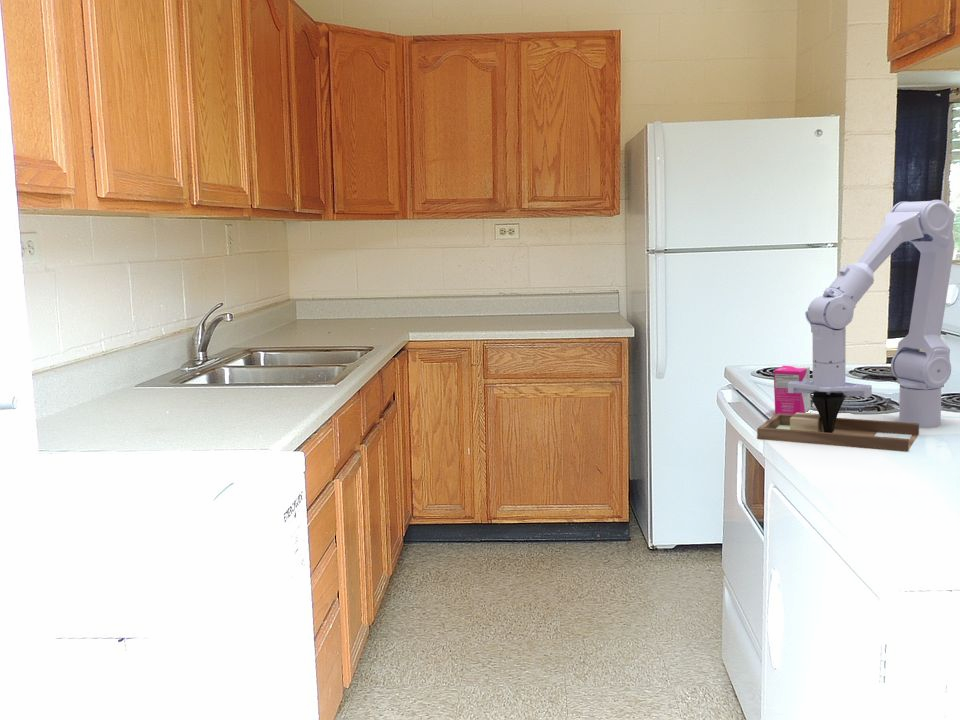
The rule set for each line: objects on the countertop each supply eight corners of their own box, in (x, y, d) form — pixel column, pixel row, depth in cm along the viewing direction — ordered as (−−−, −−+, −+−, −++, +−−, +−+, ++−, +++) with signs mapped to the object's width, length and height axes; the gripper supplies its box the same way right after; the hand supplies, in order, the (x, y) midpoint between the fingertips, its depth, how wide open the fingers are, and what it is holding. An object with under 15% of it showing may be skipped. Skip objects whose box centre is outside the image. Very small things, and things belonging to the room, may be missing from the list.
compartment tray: (776, 430, 179) (776, 413, 179) (918, 441, 165) (919, 423, 164) (757, 446, 169) (757, 428, 168) (907, 459, 154) (907, 440, 154)
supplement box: (783, 417, 190) (783, 364, 188) (811, 420, 186) (811, 366, 184) (773, 423, 186) (773, 369, 184) (802, 426, 182) (801, 371, 180)
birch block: (796, 430, 173) (796, 412, 172) (823, 432, 170) (823, 414, 170) (790, 436, 169) (789, 418, 168) (817, 438, 166) (817, 420, 166)
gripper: (783, 363, 166) (783, 433, 168) (866, 366, 158) (866, 440, 160) (793, 356, 172) (793, 425, 174) (874, 359, 164) (873, 431, 166)
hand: (828, 431), depth 167 cm, fingers closed
